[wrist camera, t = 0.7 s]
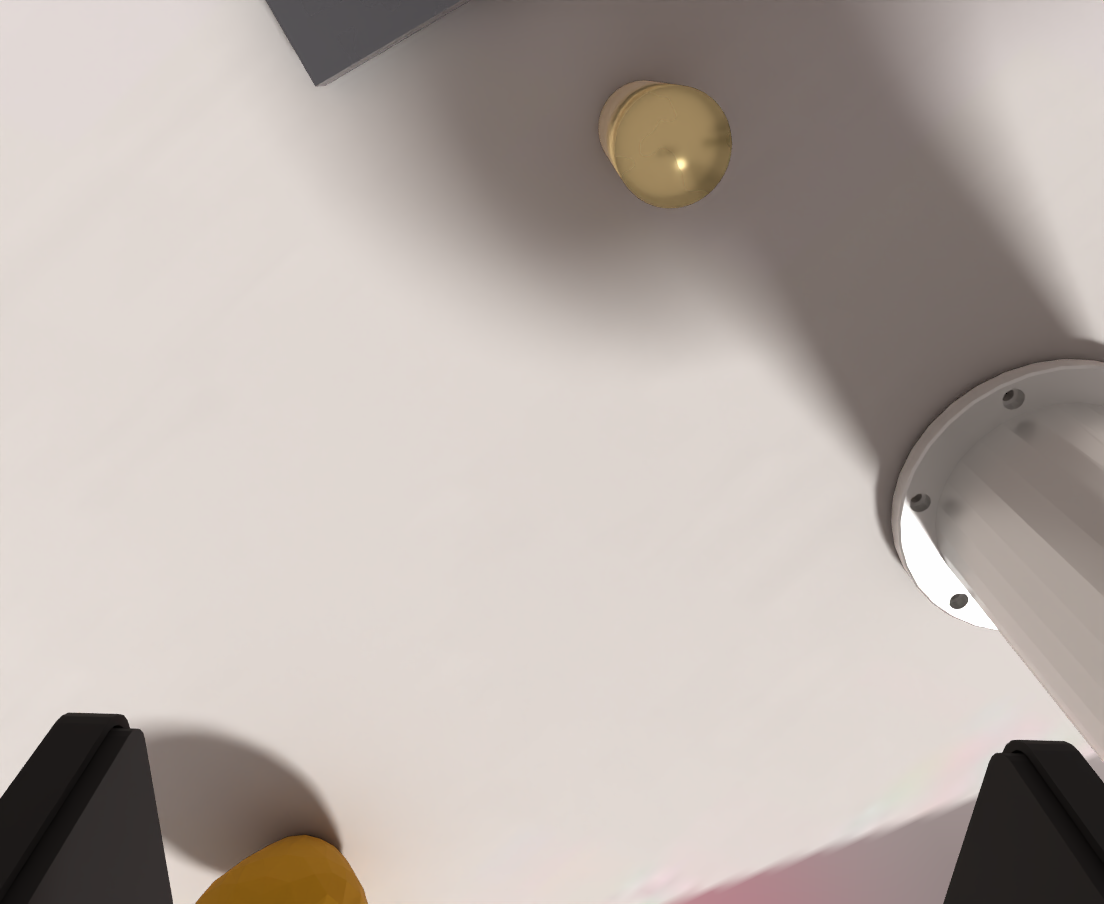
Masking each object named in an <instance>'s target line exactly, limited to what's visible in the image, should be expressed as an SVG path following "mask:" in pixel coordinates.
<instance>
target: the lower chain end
mask: <svg viewBox="0 0 1104 904" xmlns="http://www.w3.org/2000/svg"><path fill="white" fill-rule="evenodd" d="M266 1H267V3H268V5H269V7H270V8H271V10H272V12H273V14H274V15H275V17H276V19H277V21H278V22H279V24H280V26H281V27H282V29H283V31H284V33H285V34H286V36H287V38H288V40H289V41H290V43H291V45H292V47H293V48H294V50H295V52H296V54H297V55H298V57H299V59H300V60H301V62H302V64H303V66H304V67H305V69H306V71H307V73H308V74H309V76H310V78H311V80H312V81H313V83H314V85H315V86H326V85H327V84H329V83H331V82H332V81H334V80H336V79H337V78H339V77H341V76H343V75H344V74H346V73H348V72H349V71H351V70H353V69H354V68H356V67H358V66H360V65H361V64H363V63H365V62H366V61H368V60H370V59H371V58H373V57H375V56H377V55H378V54H380V53H382V52H383V51H385V50H387V49H388V48H390V47H392V46H394V45H395V44H397V43H399V42H400V41H402V40H404V39H405V38H407V37H409V36H411V35H412V34H414V33H416V32H417V31H419V30H421V29H422V28H424V27H426V26H428V25H429V24H431V23H433V22H434V21H436V20H438V19H439V18H441V17H443V16H444V15H446V14H448V13H450V12H451V11H453V10H455V9H456V8H458V7H460V6H461V5H463V4H465V3H467V2H468V1H470V0H266Z"/></svg>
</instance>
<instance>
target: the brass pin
mask: <svg viewBox="0 0 1104 904" xmlns="http://www.w3.org/2000/svg"><path fill="white" fill-rule="evenodd" d="M598 132H599V139H600V143H601V146H602V148H603V150H604V152H605V154H606V155H607V157H608V158H609V160H610V162H611V163H612V165H613V166H614V168H615V169H616V171H617V173H618V174H619V176H620V177H621V179H622V180H623V182H624V184H625V185H626V186H627V188H628V189H629V190H630V191H631V192H632V193H633V194H634V195H635V196H636V197H638V198H639V199H640V200H642V201H644V202H646V203H648V204H650V205H653V206H656V207H660V208H679V207H684V206H688V205H691V204H693V203H695V202H697V201H699V200H701V199H702V198H704V197H705V196H706V195H708V194H709V193H710V192H711V191H712V190H713V189H714V188H715V187H716V186H717V184H718V183H719V182H720V180H721V179H722V177H723V175H724V174H725V171H726V169H727V167H728V164H729V160H730V156H731V149H732V138H731V131H730V127H729V124H728V121H727V118H726V116H725V114H724V112H723V111H722V109H721V108H720V106H719V105H718V104H717V103H716V102H715V101H714V100H713V99H712V98H711V97H710V96H708V95H707V94H705V93H704V92H702V91H700V90H698V89H695V88H692V87H688V86H682V85H675V84H668V83H661V82H654V81H647V80H641V81H634V82H631V83H628V84H626V85H624V86H622V87H620V88H619V89H617V90H616V91H615V92H614V93H613V94H612V95H611V96H610V97H609V99H608V100H607V101H606V103H605V105H604V107H603V109H602V111H601V114H600V118H599V125H598Z"/></svg>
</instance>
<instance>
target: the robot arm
mask: <svg viewBox="0 0 1104 904" xmlns="http://www.w3.org/2000/svg"><path fill="white" fill-rule="evenodd" d="M1007 392H1008V393H1007ZM1006 393H1007V395H1005V394H1006ZM1004 395H1005V396H1004ZM915 495H916V496H915ZM914 496H915V497H914ZM912 497H913V498H912ZM891 526H892V532H893V538H894V545H895V548H896V550H897V553H898V555H899V558H900V560H901V563H902V565H903V567H904V569H905V570H906V571H907V573H908V574H909V576H910V577H911V579H912V580H913V582H914V584H915V585H916V586H917V587H918V589H919V590H920V591H921V592H922V593H923V594H924V595H925V596H926V597H927V598H928V599H929V600H930V602H931V603H933V604H934V605H935V606H937V607H938V608H940V609H941V610H942V611H944V612H945V613H947V614H948V615H950V616H952V617H955V618H957V619H960V620H962V621H964V622H967V623H969V624H971V625H975V626H980V627H984V628H989V629H994V630H998V631H999V632H1000V633H1001V634H1002V636H1003V637H1004V638H1005V639H1006V641H1007V642H1008V643H1009V644H1010V646H1011V647H1012V648H1013V649H1014V651H1015V652H1016V653H1017V655H1018V656H1019V657H1020V658H1021V660H1022V661H1023V662H1024V663H1025V665H1026V666H1027V667H1028V668H1029V670H1030V671H1031V672H1032V673H1033V675H1034V676H1035V677H1036V678H1037V680H1038V681H1039V682H1040V683H1041V685H1042V686H1043V687H1044V688H1045V690H1046V691H1047V692H1048V693H1049V695H1050V696H1051V697H1052V699H1053V700H1054V701H1055V702H1056V704H1057V705H1058V706H1059V707H1060V709H1061V710H1062V711H1063V712H1064V714H1065V715H1066V716H1067V717H1068V719H1069V720H1070V721H1071V722H1072V724H1073V725H1074V726H1075V727H1076V729H1077V730H1078V731H1079V732H1080V734H1081V735H1082V736H1083V737H1084V739H1085V740H1086V741H1087V742H1088V744H1089V745H1090V746H1091V748H1092V749H1093V750H1094V751H1095V753H1096V754H1097V755H1098V756H1099V758H1100V759H1101V760H1102V761H1103V763H1104V362H1100V361H1096V360H1079V359H1061V360H1053V361H1046V362H1038V363H1033V364H1030V365H1027V366H1023V367H1020V368H1017V369H1014V370H1010V371H1007V372H1004V373H1002V374H1000V375H998V376H996V377H994V378H992V379H990V380H988V381H986V382H984V383H982V384H980V385H978V386H976V387H975V388H973V389H972V390H971V391H969V392H968V393H966V394H965V395H963V396H962V397H961V398H959V399H958V400H956V401H955V402H953V403H952V404H951V405H950V406H949V407H948V408H947V409H946V410H945V411H944V412H943V413H942V414H940V415H939V416H938V417H937V418H936V419H935V420H934V421H933V422H932V423H931V424H930V425H929V426H928V428H927V429H926V431H925V432H924V433H923V435H922V436H921V437H920V439H919V440H918V441H917V443H916V444H915V445H914V447H913V448H912V450H911V452H910V454H909V456H908V458H907V460H906V462H905V464H904V466H903V468H902V470H901V472H900V474H899V478H898V481H897V485H896V489H895V492H894V496H893V501H892V517H891ZM0 904H173V900H172V894H171V888H170V882H169V877H168V871H167V865H166V859H165V853H164V848H163V842H162V836H161V830H160V824H159V819H158V813H157V807H156V801H155V795H154V789H153V784H152V778H151V772H150V766H149V760H148V755H147V749H146V743H145V738H144V734H143V732H142V731H141V730H140V729H131V728H130V727H129V724H128V720H127V719H126V718H125V716H124V715H120V714H96V713H67V714H64V715H62V716H61V717H60V718H59V719H58V720H57V721H56V723H55V724H54V725H53V727H52V728H51V729H50V731H49V732H48V733H47V735H46V736H45V738H44V739H43V740H42V742H41V743H40V745H39V746H38V747H37V749H36V750H35V751H34V753H33V754H32V756H31V757H30V758H29V760H28V761H27V762H26V764H25V765H24V767H23V768H22V769H21V771H20V772H19V774H18V775H17V776H16V778H15V779H14V780H13V782H12V783H11V785H10V786H9V787H8V789H7V790H6V791H5V793H4V794H3V796H2V797H1V798H0ZM943 904H1104V783H1103V781H1102V780H1101V779H1100V778H1099V776H1098V775H1097V774H1096V773H1095V771H1094V770H1093V769H1092V767H1091V766H1090V765H1089V764H1088V762H1087V761H1086V760H1085V758H1084V757H1083V756H1082V755H1081V753H1080V752H1079V751H1078V750H1077V749H1076V748H1075V747H1074V746H1073V745H1072V744H1070V743H1067V742H1065V741H1039V740H1012V741H1010V742H1009V743H1008V744H1007V745H1006V746H1005V748H1004V750H1003V752H1002V753H996V754H994V755H993V756H992V757H991V759H990V761H989V764H988V767H987V770H986V773H985V776H984V780H983V783H982V786H981V789H980V792H979V795H978V798H977V801H976V804H975V807H974V810H973V814H972V817H971V820H970V823H969V826H968V830H967V832H966V836H965V839H964V841H963V845H962V848H961V851H960V854H959V857H958V860H957V863H956V866H955V869H954V872H953V875H952V878H951V882H950V885H949V888H948V891H947V894H946V897H945V900H944V903H943Z"/></svg>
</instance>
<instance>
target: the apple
mask: <svg viewBox="0 0 1104 904" xmlns="http://www.w3.org/2000/svg"><path fill="white" fill-rule="evenodd" d="M195 904H368V903H367V899H366V896H365V892H364V889H363V887H362V886H361V884H360V882H359V880H358V878H357V877H356V875H355V873H354V871H353V870H352V868H351V866H350V865H349V863H348V861H347V860H346V859H345V857H344V856H343V855H342V854H341V853H340V852H339V851H338V850H337V849H336V847H335V846H333V845H331V844H329V843H328V842H326V841H324V840H322V839H320V838H316V837H312V836H308V835H298V836H290V837H286V838H284V839H281V840H279V841H277V842H275V843H273V844H271V845H269V846H267V847H265V848H263V849H262V850H260V851H258V852H256V853H254V854H253V855H251V856H249V857H247V858H246V859H244V860H243V861H241V862H240V863H239V864H237V865H236V866H234V867H233V868H232V869H230V870H229V871H228V872H226V873H225V874H224V875H222V876H221V877H220V878H218V879H217V880H215V881H214V882H213V883H212V884H211V886H210V887H209V888H208V889H207V890H206V891H205V892H204V894H203V895H202V896H201V897H200V898H199V899H198V901H197V902H196V903H195Z"/></svg>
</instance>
